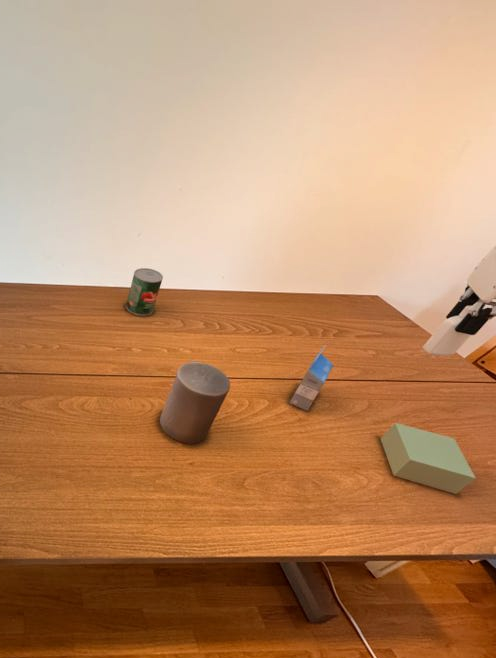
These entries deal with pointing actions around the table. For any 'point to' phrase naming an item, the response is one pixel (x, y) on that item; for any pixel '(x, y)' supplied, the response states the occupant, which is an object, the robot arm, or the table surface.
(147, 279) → the canned tomato
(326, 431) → the table surface
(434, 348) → the eye dropper bottle
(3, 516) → the table surface
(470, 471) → the block
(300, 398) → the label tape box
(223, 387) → the pillar candle
